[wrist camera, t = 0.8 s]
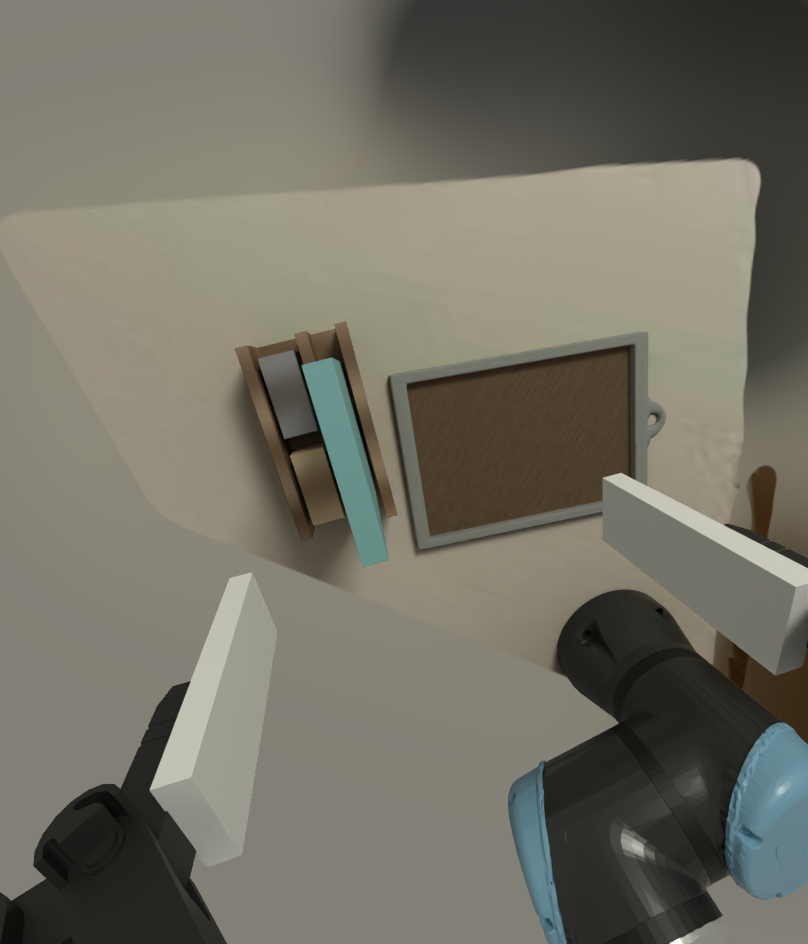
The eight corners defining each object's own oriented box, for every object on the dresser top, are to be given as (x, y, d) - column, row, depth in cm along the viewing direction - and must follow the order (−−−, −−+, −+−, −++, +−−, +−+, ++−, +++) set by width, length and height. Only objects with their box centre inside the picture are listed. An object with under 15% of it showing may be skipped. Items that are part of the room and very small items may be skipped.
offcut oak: (345, 503, 41) (344, 517, 37) (317, 511, 41) (313, 526, 37) (325, 439, 39) (322, 447, 35) (296, 447, 39) (290, 456, 35)
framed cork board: (388, 375, 38) (672, 326, 41) (387, 375, 40) (661, 328, 42) (418, 551, 44) (669, 498, 46) (416, 545, 45) (658, 494, 48)
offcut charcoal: (320, 424, 39) (317, 430, 35) (291, 431, 39) (284, 439, 35) (298, 352, 37) (292, 349, 33) (267, 359, 37) (257, 358, 33)
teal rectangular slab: (373, 478, 41) (388, 560, 24) (358, 482, 41) (363, 567, 24) (340, 362, 38) (331, 357, 20) (324, 366, 37) (301, 365, 20)
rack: (392, 498, 43) (397, 515, 38) (307, 521, 42) (301, 541, 37) (346, 327, 38) (345, 321, 33) (249, 350, 37) (234, 348, 32)
